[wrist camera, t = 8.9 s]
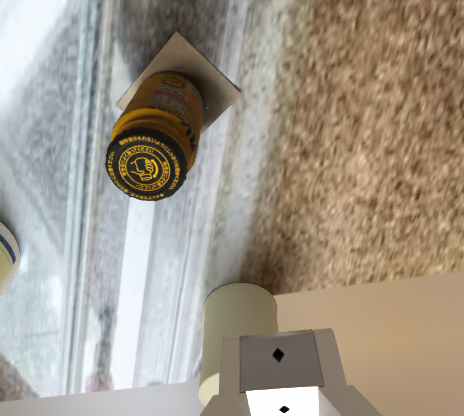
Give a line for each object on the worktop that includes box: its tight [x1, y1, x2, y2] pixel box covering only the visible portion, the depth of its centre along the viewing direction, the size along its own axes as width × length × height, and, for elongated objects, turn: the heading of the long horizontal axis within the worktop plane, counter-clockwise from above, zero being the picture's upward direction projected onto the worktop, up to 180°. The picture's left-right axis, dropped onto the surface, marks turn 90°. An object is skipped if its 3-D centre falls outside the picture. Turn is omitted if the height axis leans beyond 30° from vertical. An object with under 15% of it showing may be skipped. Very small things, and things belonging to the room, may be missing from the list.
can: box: [198, 283, 278, 407], centre depth 45 cm, size 9×9×12 cm
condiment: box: [105, 31, 241, 201], centre depth 30 cm, size 7×8×12 cm
